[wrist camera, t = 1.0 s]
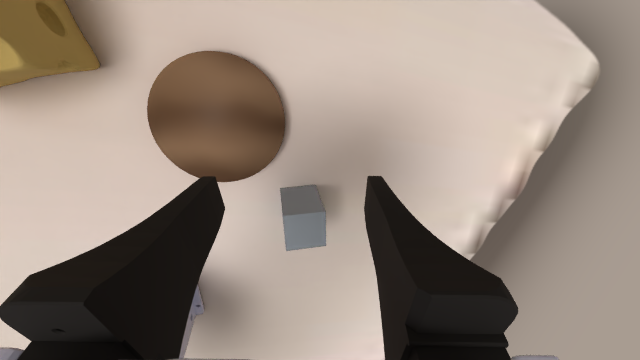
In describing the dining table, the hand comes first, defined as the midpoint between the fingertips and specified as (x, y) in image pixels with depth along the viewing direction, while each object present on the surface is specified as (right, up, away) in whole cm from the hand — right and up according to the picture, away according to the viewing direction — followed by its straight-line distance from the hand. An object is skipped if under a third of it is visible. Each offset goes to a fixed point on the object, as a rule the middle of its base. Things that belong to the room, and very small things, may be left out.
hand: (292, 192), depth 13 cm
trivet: (-8, +7, +14) cm, 17 cm away
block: (-1, -2, +19) cm, 19 cm away
